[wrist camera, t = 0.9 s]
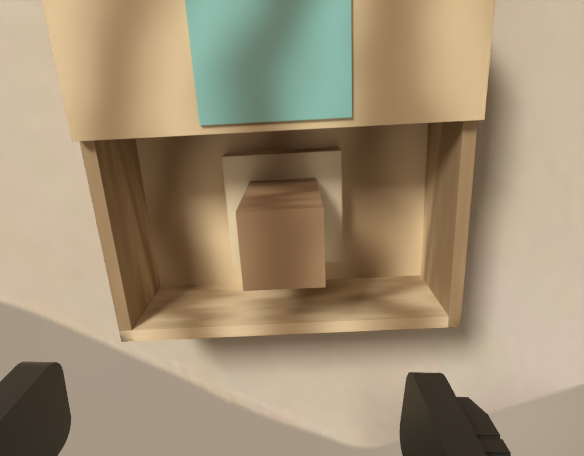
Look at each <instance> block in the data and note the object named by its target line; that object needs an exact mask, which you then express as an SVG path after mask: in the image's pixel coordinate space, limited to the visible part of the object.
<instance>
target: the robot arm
mask: <svg viewBox="0 0 584 456" xmlns="http://www.w3.org/2000/svg"><path fill="white" fill-rule="evenodd" d="M70 425H71V414H70V408H69V403H68V397H67V391H66V385H65V379H64V374H63V370H62V367H61V365H60V364H59V363H56V362H21V363H19V364H18V365H17V366H16V367H15V368H14V369H13V370H12V371H11V372H10V373H9V374H8V375H7V376H6V377H5V378H4V379H3V380H2V381H1V382H0V456H58V454H59V453H60V451H61V449H62V448H63V446H64V444H65V442H66V440H67V438H68V434H69V431H70ZM400 444H401V450H402V455H403V456H511V455H510V451H509V450H508V448H507V446H506V445H505V443H504V441H503V440H502V439H500V434H499V433H498V431H497V429H496V428H495V426H494V424H493V423H492V421H491V420H490V418H489V416H488V414H486V413H485V412H484V411H483V410H482V409H481V408H480V407H479V406H477V405H476V404H475V403H474V402H473V401H472V400H471V399H470V398H469V397H456V396H455V394H454V392H453V390H452V388H451V386H450V385H449V383H448V381H447V379H446V377H445V376H444V374H442V373H416V372H410V373H408V375H407V378H406V384H405V392H404V399H403V407H402V414H401V421H400Z"/></svg>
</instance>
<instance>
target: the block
mask: <svg viewBox="0 0 584 456" xmlns="http://www.w3.org/2000/svg"><path fill="white" fill-rule="evenodd" d="M236 222H237V233H238V243H239V253H240V263H241V273H242V283H243V291H257V290H279V289H301V288H323V287H326V280H325V246H324V212H323V204H322V200H321V196H320V192H319V188H318V184H317V180H316V178H304V179H284V180H264V181H250V182H249V184H248V186H247V188H246V191H245V193H244V195H243V197H242V199H241V201H240V203H239V206H238V208H237V210H236Z"/></svg>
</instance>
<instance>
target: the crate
mask: <svg viewBox="0 0 584 456" xmlns="http://www.w3.org/2000/svg"><path fill="white" fill-rule="evenodd" d="M42 4H43V8H44V13H45V18H46V22H47V27H48V32H49V36H50V41H51V46H52V50H53V55H54V59H55V64H56V69H57V73H58V78H59V83H60V87H61V92H62V97H63V101H64V106H65V111H66V115H67V120H68V125H69V129H70V134H71V139H72V142H74V141H80V145H81V150H82V155H83V160H84V165H85V169H86V174H87V179H88V184H89V189H90V193H91V198H92V203H93V208H94V212H95V217H96V222H97V227H98V232H99V236H100V241H101V246H102V251H103V256H104V260H105V265H106V270H107V275H108V279H109V284H110V289H111V294H112V299H113V303H114V308H115V313H116V318H117V323H118V327H119V332H120V337H121V342H123V341H146V340H169V339H192V338H215V337H238V336H261V335H284V334H307V333H330V332H353V331H376V330H399V329H422V328H445V327H460V325H461V313H462V301H463V290H464V278H465V266H466V255H467V243H468V231H469V220H470V208H471V196H472V184H473V173H474V161H475V149H476V138H477V126H478V120H484V119H485V108H486V97H487V86H488V75H489V64H490V53H491V42H492V31H493V20H494V8H495V0H42ZM304 178H316V180H317V184H318V188H319V192H320V196H321V200H322V204H323V212H324V246H325V280H326V287H323V288H301V289H279V290H257V291H243V283H242V273H241V263H240V253H239V243H238V233H237V222H236V210H237V208H238V206H239V203H240V201H241V199H242V197H243V195H244V193H245V191H246V188H247V186H248V184H249V182H250V181H264V180H284V179H304Z"/></svg>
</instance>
